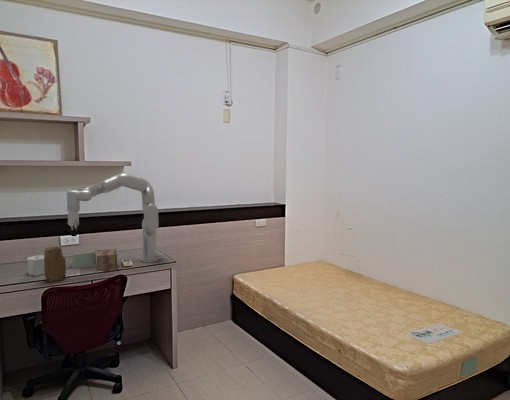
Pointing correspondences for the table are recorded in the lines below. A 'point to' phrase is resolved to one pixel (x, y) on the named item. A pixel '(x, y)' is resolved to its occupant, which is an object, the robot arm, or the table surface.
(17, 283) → the table surface
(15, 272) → the table surface
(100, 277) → the table surface
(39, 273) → the toilet tissue
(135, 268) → the table surface
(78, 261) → the green rectangular block
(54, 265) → the block
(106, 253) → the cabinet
